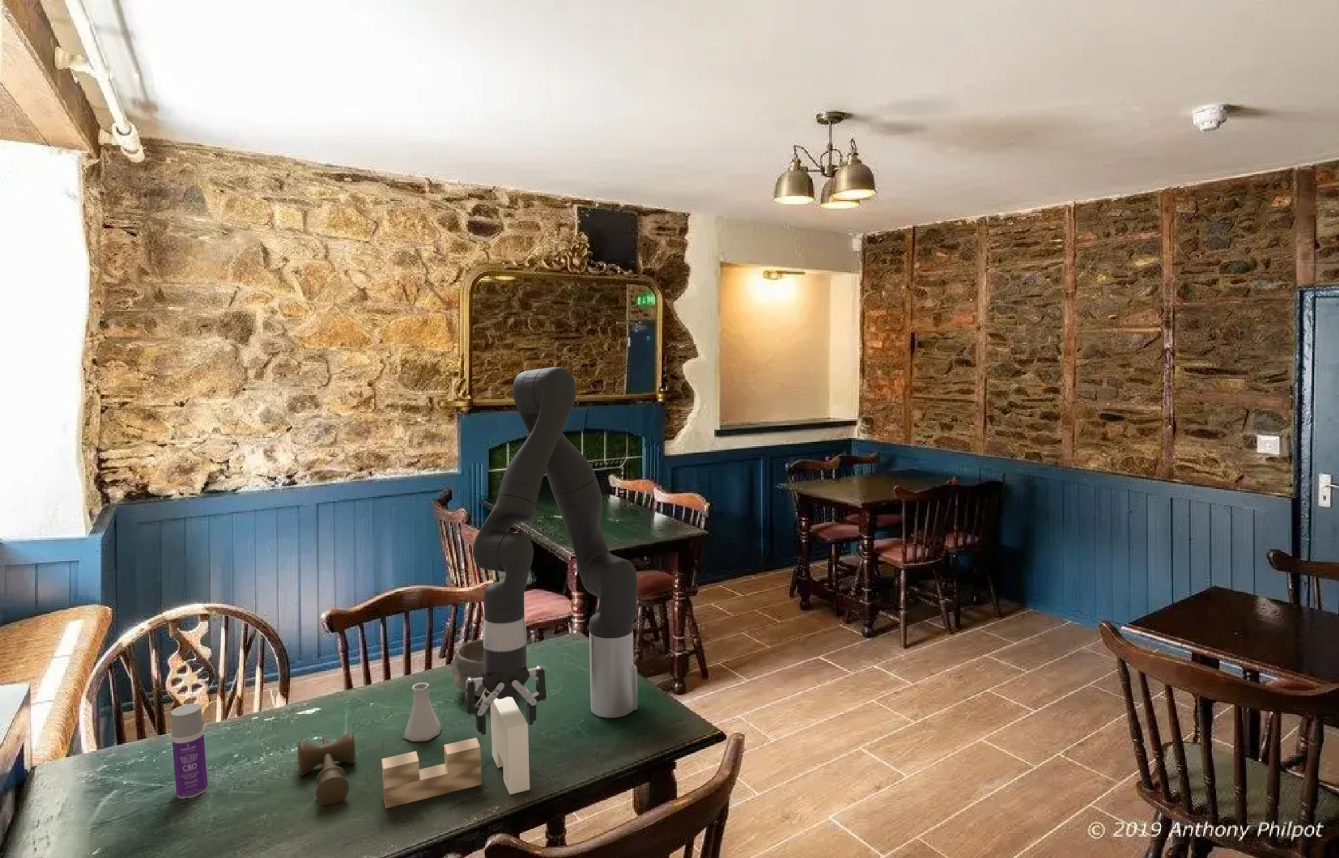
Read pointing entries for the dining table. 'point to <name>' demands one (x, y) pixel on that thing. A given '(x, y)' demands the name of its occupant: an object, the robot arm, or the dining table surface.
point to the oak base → (431, 774)
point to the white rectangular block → (510, 744)
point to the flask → (422, 716)
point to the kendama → (328, 766)
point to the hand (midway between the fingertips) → (506, 727)
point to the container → (189, 751)
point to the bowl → (469, 664)
